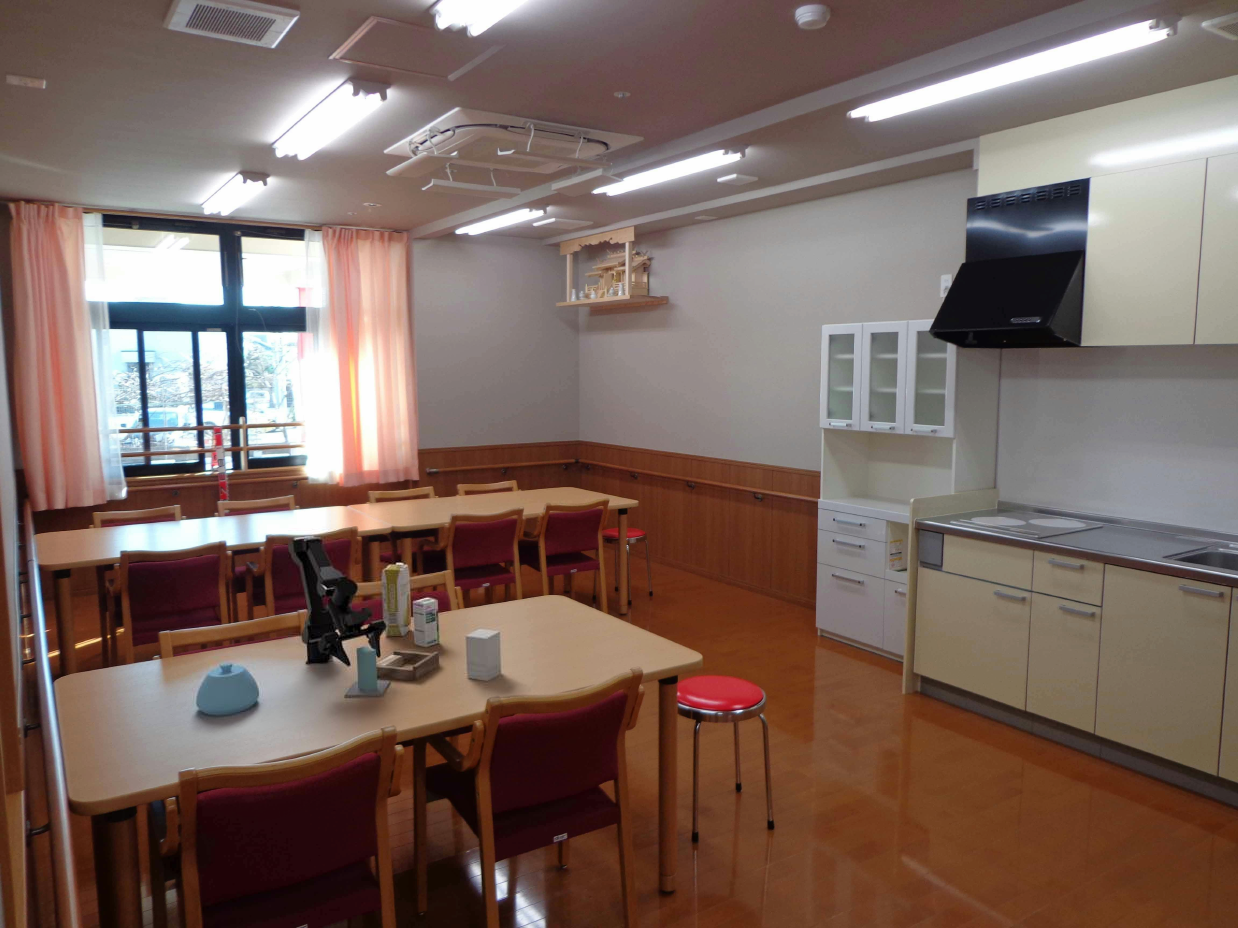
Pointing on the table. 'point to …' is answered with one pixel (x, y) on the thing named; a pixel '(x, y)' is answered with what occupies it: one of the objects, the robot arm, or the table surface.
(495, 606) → the table surface
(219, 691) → the sugar bowl
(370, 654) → the teal board
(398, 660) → the offcut stack
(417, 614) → the syrup box
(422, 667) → the walnut tray
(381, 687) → the grey mat
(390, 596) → the juice carton
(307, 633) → the robot arm
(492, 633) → the supplement box
